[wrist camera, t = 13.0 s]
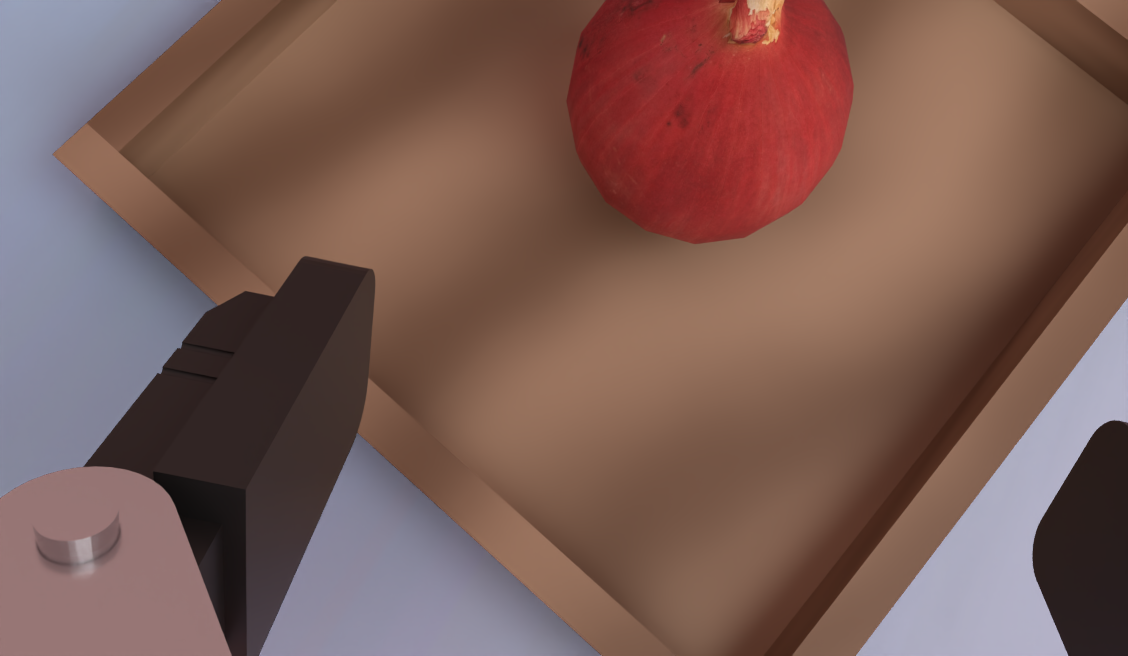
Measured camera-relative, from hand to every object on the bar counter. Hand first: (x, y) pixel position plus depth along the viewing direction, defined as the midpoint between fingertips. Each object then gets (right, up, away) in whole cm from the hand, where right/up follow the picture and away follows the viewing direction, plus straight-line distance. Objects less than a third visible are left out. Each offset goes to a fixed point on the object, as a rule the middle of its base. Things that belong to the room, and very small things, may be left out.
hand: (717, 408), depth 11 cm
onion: (+1, +5, +13) cm, 14 cm away
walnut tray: (+1, +5, +14) cm, 15 cm away
